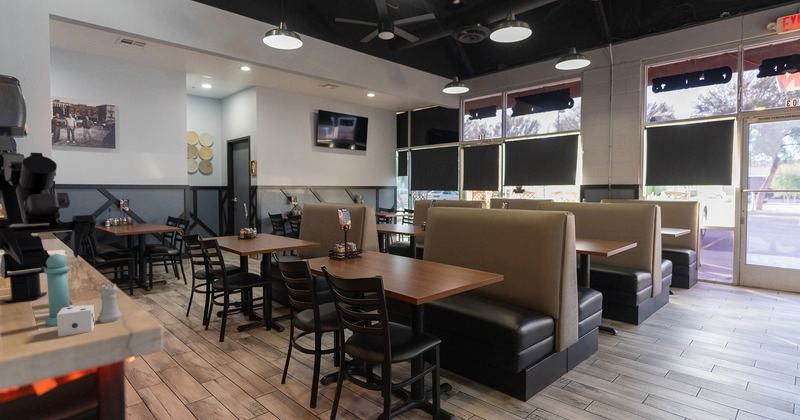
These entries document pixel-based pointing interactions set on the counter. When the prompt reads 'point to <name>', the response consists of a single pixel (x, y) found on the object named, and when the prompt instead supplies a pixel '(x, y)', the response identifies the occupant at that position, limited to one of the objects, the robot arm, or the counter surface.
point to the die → (76, 320)
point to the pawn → (56, 287)
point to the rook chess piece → (109, 304)
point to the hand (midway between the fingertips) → (50, 259)
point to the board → (43, 315)
